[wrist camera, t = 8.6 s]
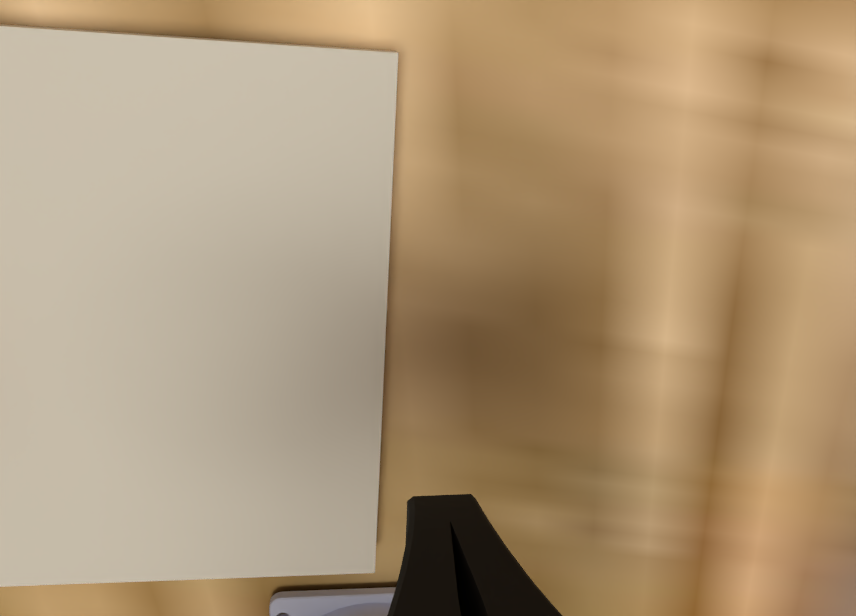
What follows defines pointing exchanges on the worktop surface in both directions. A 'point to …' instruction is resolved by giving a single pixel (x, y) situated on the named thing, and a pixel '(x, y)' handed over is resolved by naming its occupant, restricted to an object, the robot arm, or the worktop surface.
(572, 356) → the worktop surface
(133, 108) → the board
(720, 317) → the worktop surface
